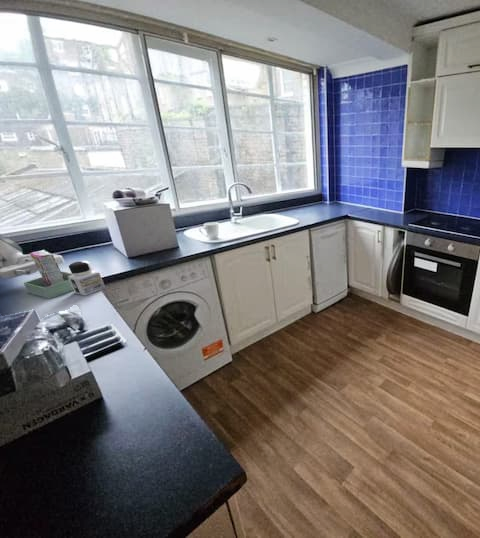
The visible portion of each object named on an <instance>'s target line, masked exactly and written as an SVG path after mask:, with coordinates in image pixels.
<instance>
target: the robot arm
mask: <svg viewBox="0 0 480 538" xmlns="http://www.w3.org/2000/svg"><path fill="white" fill-rule="evenodd" d="M52 254H53V257H54V259H55V261H56V263H57V265H58V266H59V265H62V264H64V263H65V260H64V257H63V256H62V255H61V254H55V253H52ZM37 272H39V270H38V269H37V267H36V265H35V263H34V261H33V259H32V257H31V255H30V254H29V253H27V254H24V252H23V249H22V246H20V245H19V244H18V243H17V242H15V241H13V240H11V239H9V238H7V237H5V236H0V278H1V279H4V280H10V279H14V278H18V277H20V276H30V275H33V274H35V273H37Z"/></svg>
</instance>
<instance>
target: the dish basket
mask: <svg viewBox="0 0 480 538" xmlns="http://www.w3.org/2000/svg"><path fill="white" fill-rule="evenodd" d="M60 271H61V273H62V275H63V277H64V279H65V281H64V282H61V283H58V284H55V285H52V286H49V287H47V286H46V284H45V282H44V280H43V278H42V276H41V277H38V278H36V279H32V280H29V281H25V282H23V285H24V287H25V288H26V290H27V292H28V294H31V295H35V296H38V297H40V298H41V297H42V298H46V299H48V300H50V299H52V298H56V297H58V296H59V297H60V296H61V295H64V294H66V293H69V292H73V291H74V290H73V287H72V285H71V283H70V281H69V279H68V276H71V275H72V273H71V272H67V271H63V270H60Z"/></svg>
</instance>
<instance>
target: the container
mask: <svg viewBox="0 0 480 538" xmlns="http://www.w3.org/2000/svg"><path fill="white" fill-rule="evenodd" d="M68 269H69V271H70V273H72V275H71V276H68V279H69V281H70V283H71V285H72V287H73V290H72V291H73V292H74V293H75V294H79V295H83V296H88V295H90V294H93V293H95V292H98V291H101V290H103V289H105V288H106V285H105V283H104V280H103V278H102V276H101V274H100V271H96V270H93V268H92V265H91V263H90V261H88V260H79V261H75V262H71V263H70V264H69V265H68Z"/></svg>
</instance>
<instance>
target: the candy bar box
mask: <svg viewBox="0 0 480 538" xmlns="http://www.w3.org/2000/svg"><path fill="white" fill-rule="evenodd" d="M28 254H30V255H31V257H32V259H33V261H34V263H35V265H36V267H37V269H38V270H39V271H38V273H39V274H40V276H41V277H42V278H43V280H44V282H45V284H46V286H47V287H49V286H52V285H55V284H58V283H61V282H64V281H65V279H64V277H63V275H62V273H61V271H62V270H61V268H60V267H59V265H57V263H56V261H55V259H54V257H53V254H54V253H51V252H49V251H47V250H45V249H42V250H37V251H32V252H29V253H28Z"/></svg>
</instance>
